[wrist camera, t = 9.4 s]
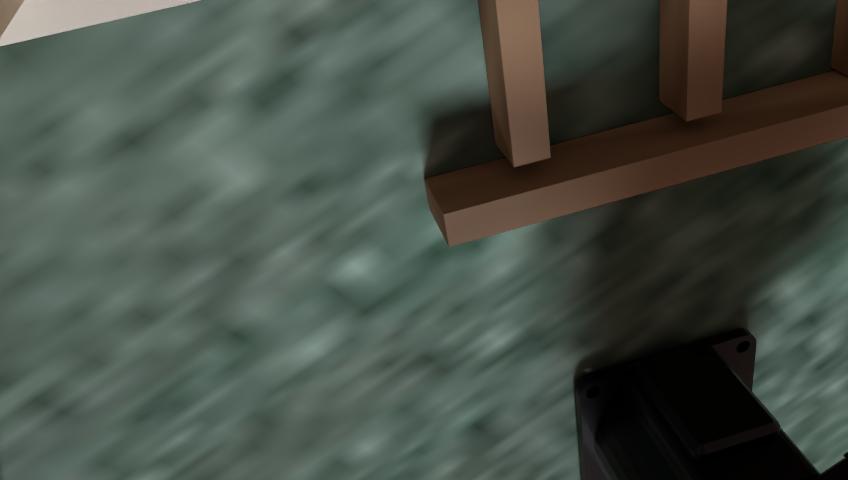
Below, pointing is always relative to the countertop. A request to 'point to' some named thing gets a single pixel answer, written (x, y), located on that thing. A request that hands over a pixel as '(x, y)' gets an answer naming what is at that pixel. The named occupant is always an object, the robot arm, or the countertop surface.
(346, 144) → the countertop surface
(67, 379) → the countertop surface
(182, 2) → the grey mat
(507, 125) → the rack
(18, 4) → the maple panel
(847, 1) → the offcut stack
